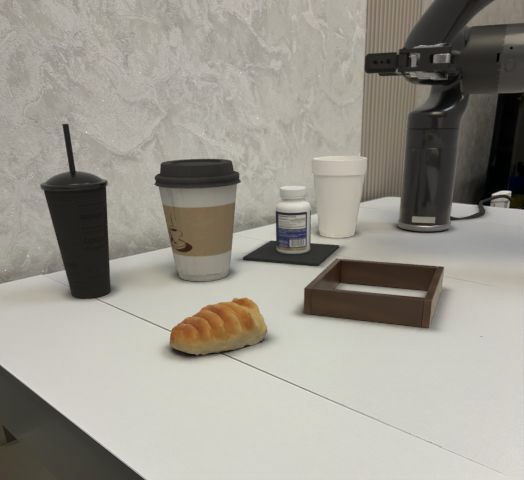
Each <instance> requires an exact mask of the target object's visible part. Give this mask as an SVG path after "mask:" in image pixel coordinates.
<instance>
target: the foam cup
mask: <svg viewBox="0 0 524 480" xmlns="http://www.w3.org/2000/svg"><path fill="white" fill-rule="evenodd" d="M367 173H368V157H366V156H361V155H360V156H359V155H358V156H357V155H326V156H316V157H312V158H311V174H312V178H313V186H314V187H313V188H314V195H315V196H314V197H315V204H316V215H317V224H318V231H319V235H320V236H321V237H325V238H333V239H336V238H338V239H339V238H342V239H343V238H349V237H353V236H355V234H356V230H357V225H358V218H359V213H360V207H361V200H362V195H363V190H364V185H365V184H364V183H365V179H366V174H367Z"/></svg>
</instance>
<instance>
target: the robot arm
mask: <svg viewBox="0 0 524 480" xmlns="http://www.w3.org/2000/svg"><path fill="white" fill-rule="evenodd" d="M495 1H496V0H433V1H432V2H431V3H430V5H429V6H428V7H427V9H425V11H424V12H423V14H422V15H421V16H420V18H419V19H418V20H417V21H416V23H415V24H414V25H413V27H412V29H411V30H410V31H409V33H408V34H407V36H406V39H405V40H404V43H403V45H402V48H399V49H398V50H396V51H390V52H389V51H388V52H373V53H367V54H366V55H365V56H364V72H365V73H366V74H368V75H369V74H371V75H372V74H377V75H378V76H379V77H398V76H399V77H400V76H402V78H403V79H404V80H405V81H406V82H408V83H409V84H412V85H417V86H430V90H429V94H428V97H427V98H426V100H424V102H423V103H422V104H420V105H419V106H417V107H415V108H413V109H411V110H410V111H409V112H408V113H407V115H406V123H405V124H406V125H405V128H406V129H405V138H404V149H403V151H404V152H403V163H402V176H401V187H400V189H401V190H400V202H399V213H398V220H397V227H398V228H400V229H402V230H406V231H411V232H412V231H413V232H425V233H426V232H428V233H429V232H430V233H431V232H441V231H446V230H449V229H450V228H451V221H462V220H471V219H475V218H477V217H480V216H483V215H484V214H485V213H486V208H485V207H484V204H485V203H489V202H491V201H494V200H496V199H507V200H508V201H509V202H512V203H513V202H514V199H513V198H512V196H510V195H508V194H496V195H493V196H490V197H488V198H485V199H482V200H479V202H478V206H479V210H480V211H477V212H475V213H473V214H470V215H467V216H464V217H455V216H452V215H451V214H452V209H453V208H452V207H453V199H454V190H455V182H456V174H457V164H458V156H459V149H460V148H459V147H460V139H461V130H462V129H461V128H462V124H463V123H462V122H463V118H464V116H465V114H466V112H467V109H468V106H469V103H470V97H471V95H487V94H488V95H491V94H519V93H520V94H521V93H524V22H515V23H513V22H512V23H501V24H500V23H499V24H498V23H497V24H486V25H485V24H484V25H473V26H469V25H468V24H469V23H470V22H471V21H472V20H473V19H474V18H475V17H476V16H477V15H478V14H479V13H480V12H482V11H483V10H484V9H485V8H487V7H488V6H489V5H491V4H492V3H494V2H495Z"/></svg>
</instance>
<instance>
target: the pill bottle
mask: <svg viewBox="0 0 524 480" xmlns="http://www.w3.org/2000/svg"><path fill="white" fill-rule="evenodd" d="M279 197H280V198H281V200H280V201H278V202H277V203H276V205H275V241H276V249H277V251H278V252H279V253H282V254H291V255H295V254H304V253H307V252H308V251H309V250H310V243H311V242H312V241H311V240H312V239H311V235H312V234H311V233H312V232H311V221H312V220H311V219H312V207H311V206H312V205H311V204H310V202H309V201H307V200H306V199H305V198H307V187H306V185H305V186H304V185H284V186H280V188H279Z"/></svg>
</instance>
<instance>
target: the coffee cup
mask: <svg viewBox="0 0 524 480" xmlns="http://www.w3.org/2000/svg"><path fill="white" fill-rule="evenodd" d="M154 181H155V183H154V184H153V185H154V186H155V187H158V191H159V192H158V193H159V196H160V200H161V205H162V210H163V215H164V219H165V224H166V228H167V234H168V239H169V242H170V243H169V244H170V247H171V252H172V257H173V260H174V265H175V270H176V271H177V273H178V277H179V278H180V279H182V280H185V281H188V282H189V281H190V282H212V281H217V280H221V279H224V278H226V277H228V276H229V274H230V269H231V264H232V251H233V238H234V228H235V227H234V226H235V225H234V224H235V212H236V201H237V186H238V184H240V183H242V180H241V179H240V171H239V172H238V171H236V170H235V169H234V164H233V160H231V159H226V158H224V159H223V158H188V159H185V158H183V159H174V160H167V161H162V162H160V168H159V173H157V174H156V175H154Z"/></svg>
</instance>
